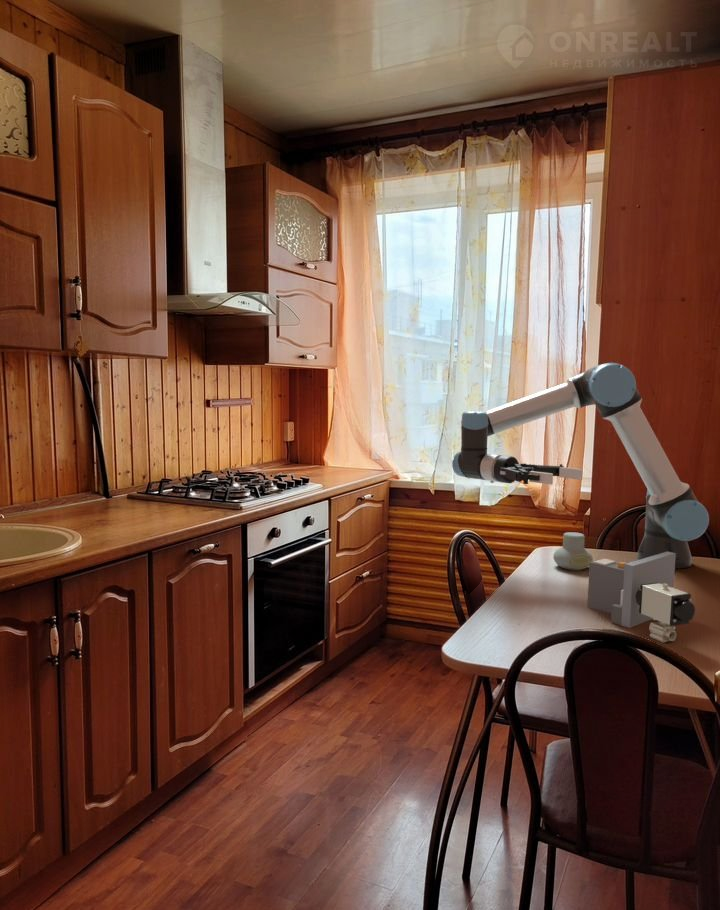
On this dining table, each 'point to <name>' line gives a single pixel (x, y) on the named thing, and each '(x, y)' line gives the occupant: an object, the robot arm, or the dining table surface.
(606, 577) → the block
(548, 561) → the dining table surface
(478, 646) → the dining table surface
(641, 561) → the rail panel
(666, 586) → the pneumatic valve
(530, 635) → the dining table surface
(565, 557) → the air freshener
